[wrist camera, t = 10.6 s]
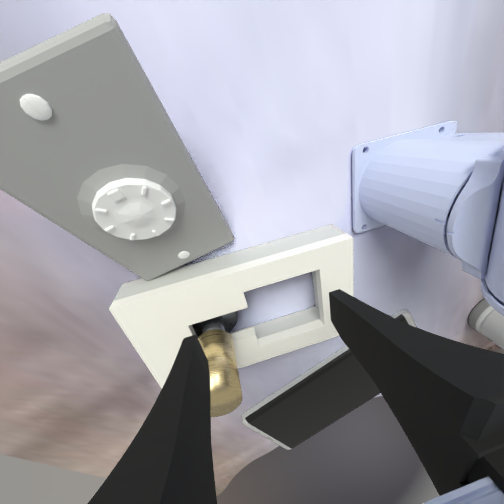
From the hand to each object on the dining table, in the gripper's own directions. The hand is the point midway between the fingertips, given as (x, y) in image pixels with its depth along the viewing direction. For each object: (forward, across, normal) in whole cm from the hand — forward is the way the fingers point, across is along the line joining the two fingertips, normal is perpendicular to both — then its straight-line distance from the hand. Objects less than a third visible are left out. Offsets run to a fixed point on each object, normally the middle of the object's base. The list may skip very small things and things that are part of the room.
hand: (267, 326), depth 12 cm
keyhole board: (+10, +1, +6) cm, 12 cm away
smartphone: (+11, -9, +26) cm, 30 cm away
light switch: (+11, +5, -7) cm, 14 cm away
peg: (+10, +4, +6) cm, 13 cm away
